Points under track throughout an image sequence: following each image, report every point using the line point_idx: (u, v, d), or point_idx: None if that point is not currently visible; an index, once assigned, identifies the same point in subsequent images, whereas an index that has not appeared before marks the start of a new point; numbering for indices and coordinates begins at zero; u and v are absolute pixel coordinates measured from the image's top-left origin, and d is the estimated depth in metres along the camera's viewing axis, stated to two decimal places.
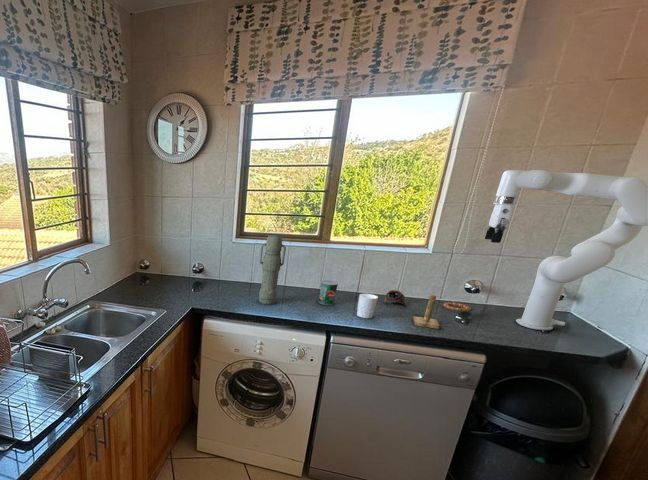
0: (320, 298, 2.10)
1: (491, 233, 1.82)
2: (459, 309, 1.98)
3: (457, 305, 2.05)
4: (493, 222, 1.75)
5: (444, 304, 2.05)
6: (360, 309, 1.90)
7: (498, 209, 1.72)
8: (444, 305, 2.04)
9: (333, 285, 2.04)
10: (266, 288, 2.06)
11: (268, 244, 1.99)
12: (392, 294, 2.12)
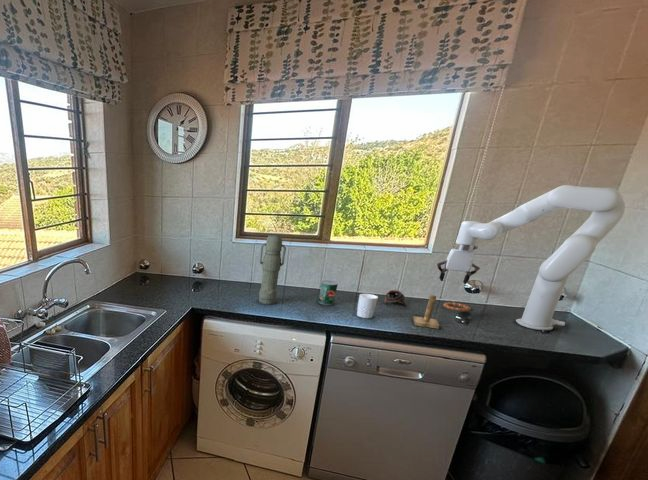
0: (320, 298, 2.10)
1: None
2: (459, 309, 1.98)
3: (457, 305, 2.05)
4: (464, 267, 1.94)
5: (444, 304, 2.05)
6: (360, 309, 1.90)
7: (471, 256, 1.91)
8: (444, 305, 2.04)
9: (333, 285, 2.04)
10: (266, 288, 2.06)
11: (268, 244, 1.99)
12: (392, 294, 2.12)
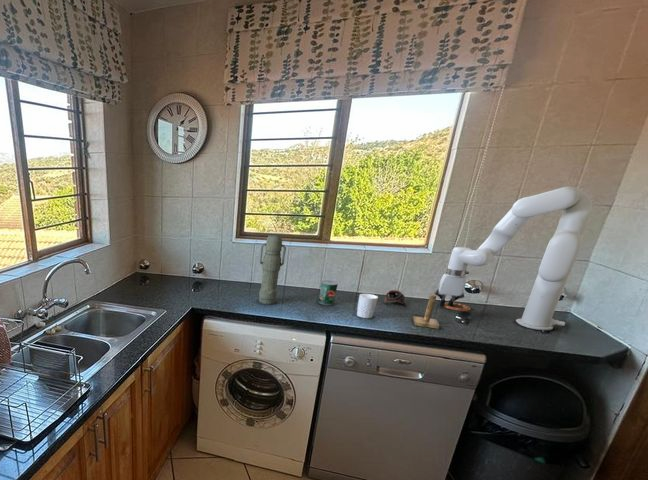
0: (320, 298, 2.10)
1: None
2: (459, 309, 1.98)
3: (457, 305, 2.05)
4: (456, 291, 1.99)
5: (444, 304, 2.05)
6: (360, 309, 1.90)
7: (463, 281, 1.96)
8: (444, 305, 2.04)
9: (333, 285, 2.04)
10: (266, 288, 2.06)
11: (268, 244, 1.99)
12: (392, 294, 2.12)
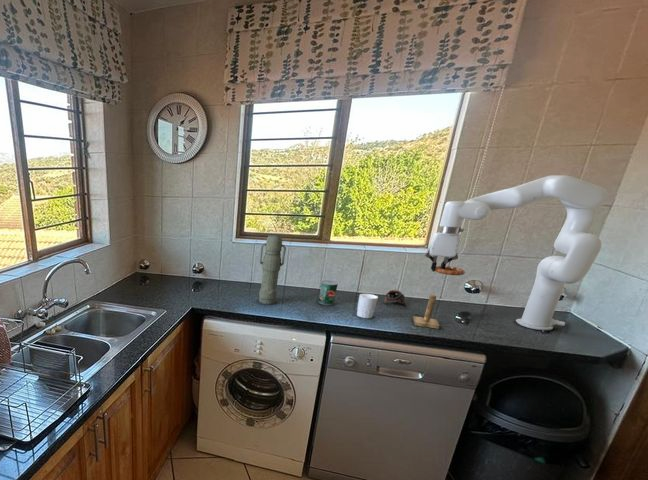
0: (320, 298, 2.10)
1: (435, 265, 1.83)
2: (451, 271, 1.77)
3: (450, 268, 1.84)
4: (449, 252, 1.77)
5: None
6: (360, 309, 1.90)
7: (456, 240, 1.75)
8: (435, 268, 1.82)
9: (333, 285, 2.04)
10: (266, 288, 2.06)
11: (268, 244, 1.99)
12: (392, 294, 2.12)
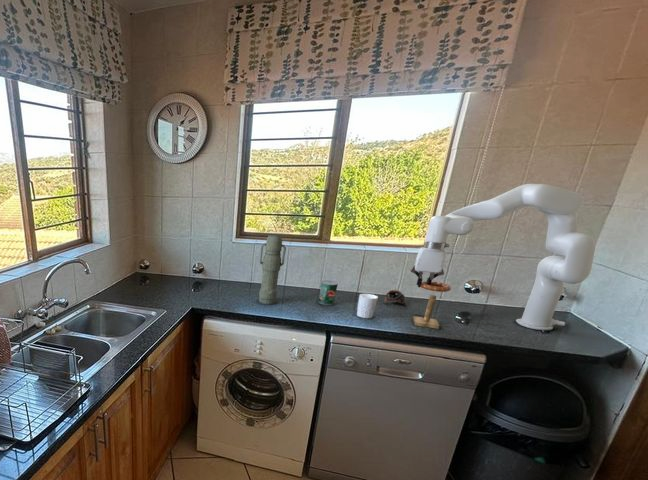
0: (320, 298, 2.10)
1: None
2: (437, 288, 1.72)
3: (436, 284, 1.79)
4: (435, 268, 1.73)
5: (421, 283, 1.79)
6: (360, 309, 1.90)
7: (442, 255, 1.70)
8: (421, 284, 1.78)
9: (333, 285, 2.04)
10: (266, 288, 2.06)
11: (268, 244, 1.99)
12: (392, 294, 2.12)
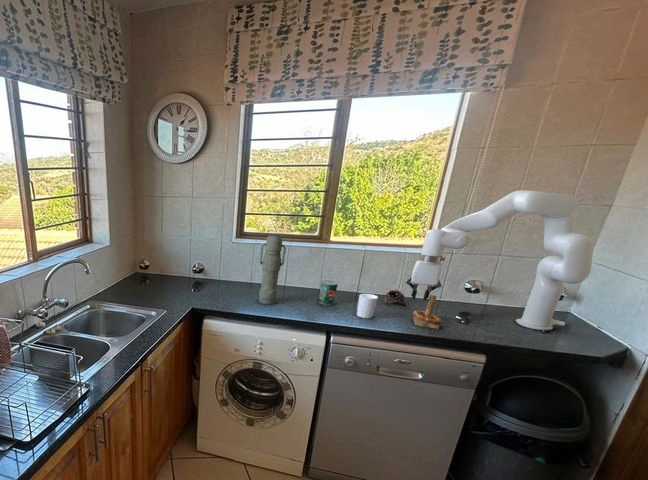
0: (320, 298, 2.10)
1: None
2: (429, 319, 1.77)
3: None
4: (431, 280, 1.75)
5: (414, 311, 1.84)
6: (360, 309, 1.90)
7: (438, 268, 1.73)
8: (414, 312, 1.83)
9: (333, 285, 2.04)
10: (266, 288, 2.06)
11: (268, 244, 1.99)
12: (392, 294, 2.12)
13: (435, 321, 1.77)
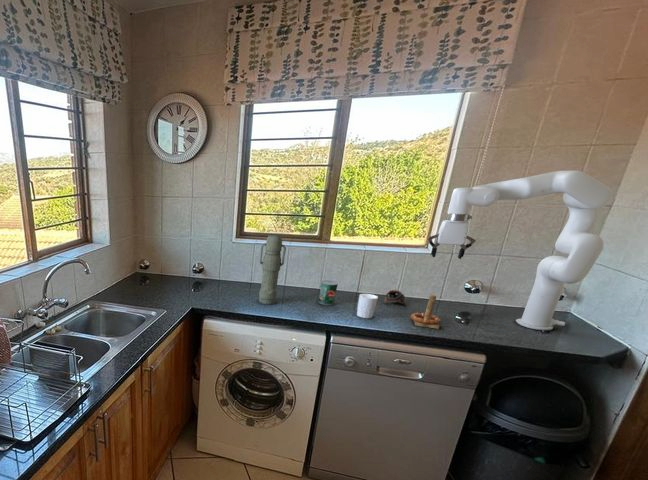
0: (320, 298, 2.10)
1: (435, 250, 1.80)
2: (427, 321, 1.78)
3: None
4: (458, 240, 1.73)
5: (411, 315, 1.85)
6: (360, 309, 1.90)
7: (465, 227, 1.71)
8: (411, 316, 1.84)
9: (333, 285, 2.04)
10: (266, 288, 2.06)
11: (268, 244, 1.99)
12: (392, 294, 2.12)
13: (434, 321, 1.77)
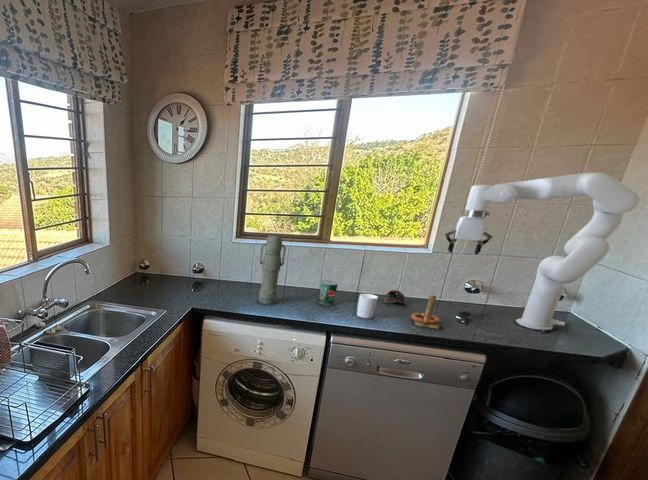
0: (320, 298, 2.10)
1: None
2: (427, 321, 1.78)
3: None
4: (475, 236, 1.77)
5: (411, 315, 1.85)
6: (360, 309, 1.90)
7: (482, 223, 1.75)
8: (411, 316, 1.84)
9: (333, 285, 2.04)
10: (266, 288, 2.06)
11: (268, 244, 1.99)
12: (392, 294, 2.12)
13: (434, 321, 1.77)
